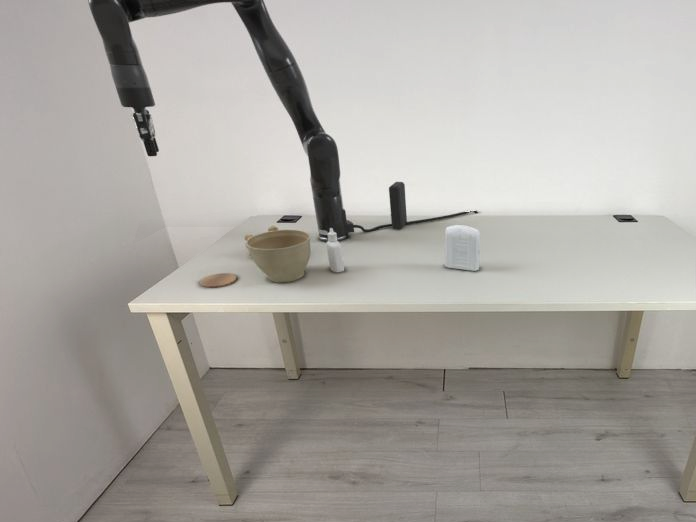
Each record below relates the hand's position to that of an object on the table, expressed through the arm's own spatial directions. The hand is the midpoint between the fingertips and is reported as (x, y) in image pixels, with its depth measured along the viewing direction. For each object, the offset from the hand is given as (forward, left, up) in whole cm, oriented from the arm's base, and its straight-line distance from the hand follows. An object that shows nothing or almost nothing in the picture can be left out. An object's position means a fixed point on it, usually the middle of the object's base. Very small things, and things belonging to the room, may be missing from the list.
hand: (153, 154), depth 128 cm
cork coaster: (-8, +23, -30) cm, 39 cm away
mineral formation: (-24, +8, -30) cm, 39 cm away
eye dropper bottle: (-39, +29, -30) cm, 57 cm away
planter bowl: (-25, +28, -30) cm, 48 cm away
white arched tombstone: (-72, +44, -30) cm, 90 cm away
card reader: (-70, -4, -30) cm, 76 cm away
